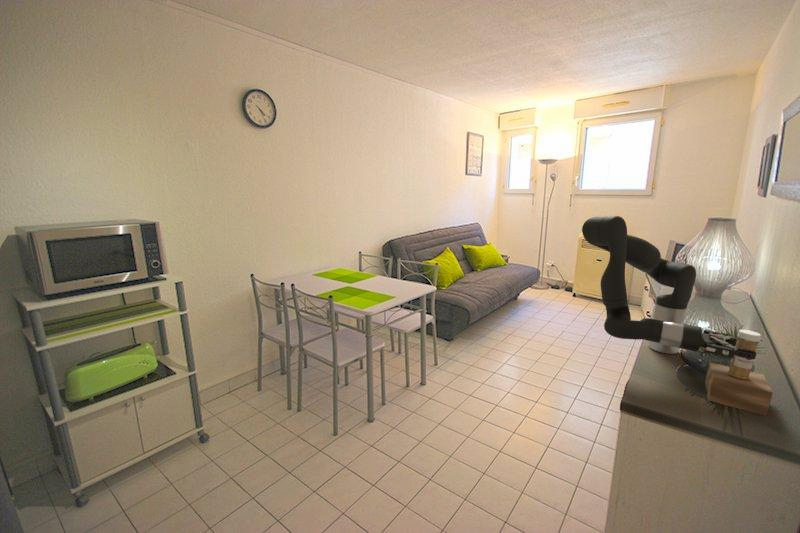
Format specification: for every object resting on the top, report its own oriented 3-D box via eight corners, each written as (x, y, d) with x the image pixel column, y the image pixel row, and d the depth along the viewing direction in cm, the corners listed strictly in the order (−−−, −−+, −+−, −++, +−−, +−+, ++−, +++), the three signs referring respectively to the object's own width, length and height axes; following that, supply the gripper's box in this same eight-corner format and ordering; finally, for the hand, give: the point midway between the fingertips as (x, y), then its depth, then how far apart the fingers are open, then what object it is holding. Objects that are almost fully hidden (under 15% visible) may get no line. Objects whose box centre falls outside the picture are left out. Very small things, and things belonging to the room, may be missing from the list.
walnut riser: (705, 382, 113) (709, 362, 111) (757, 396, 106) (763, 374, 104) (708, 400, 103) (713, 378, 102) (766, 416, 96) (772, 392, 95)
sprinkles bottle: (737, 380, 101) (750, 335, 98) (723, 371, 105) (734, 328, 102) (753, 380, 101) (766, 335, 98) (738, 371, 106) (749, 329, 103)
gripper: (682, 331, 103) (761, 346, 94) (681, 317, 115) (751, 329, 105) (678, 355, 105) (754, 372, 96) (677, 339, 116) (745, 353, 107)
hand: (752, 350), depth 100 cm, fingers open, 8 cm apart
